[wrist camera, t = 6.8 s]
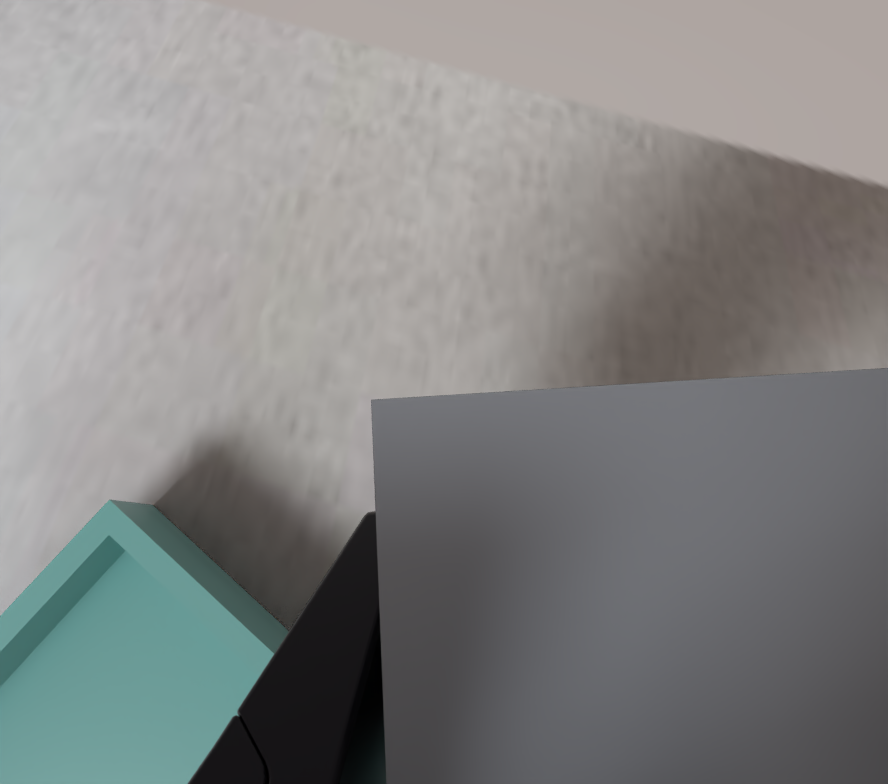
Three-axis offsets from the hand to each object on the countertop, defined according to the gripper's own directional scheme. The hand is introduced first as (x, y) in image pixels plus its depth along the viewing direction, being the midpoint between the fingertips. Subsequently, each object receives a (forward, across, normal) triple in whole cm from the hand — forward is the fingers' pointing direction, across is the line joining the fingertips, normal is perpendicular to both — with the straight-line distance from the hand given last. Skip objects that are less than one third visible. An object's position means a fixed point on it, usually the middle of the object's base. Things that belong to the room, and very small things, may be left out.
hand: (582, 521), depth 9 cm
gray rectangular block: (+4, 0, +6) cm, 8 cm away
